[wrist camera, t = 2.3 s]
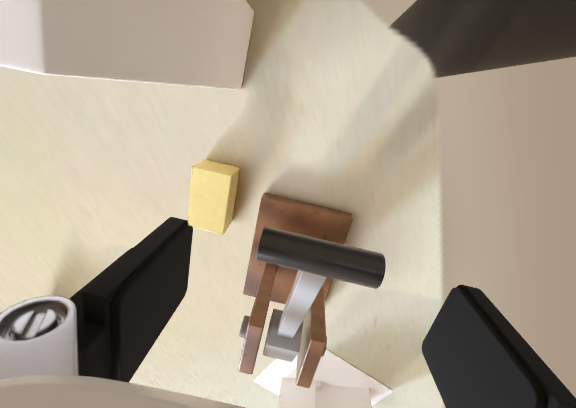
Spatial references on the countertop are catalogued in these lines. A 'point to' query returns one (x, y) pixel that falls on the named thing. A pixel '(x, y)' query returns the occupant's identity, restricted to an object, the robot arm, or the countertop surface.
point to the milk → (129, 39)
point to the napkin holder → (323, 385)
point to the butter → (212, 196)
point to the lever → (310, 280)
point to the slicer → (289, 280)
